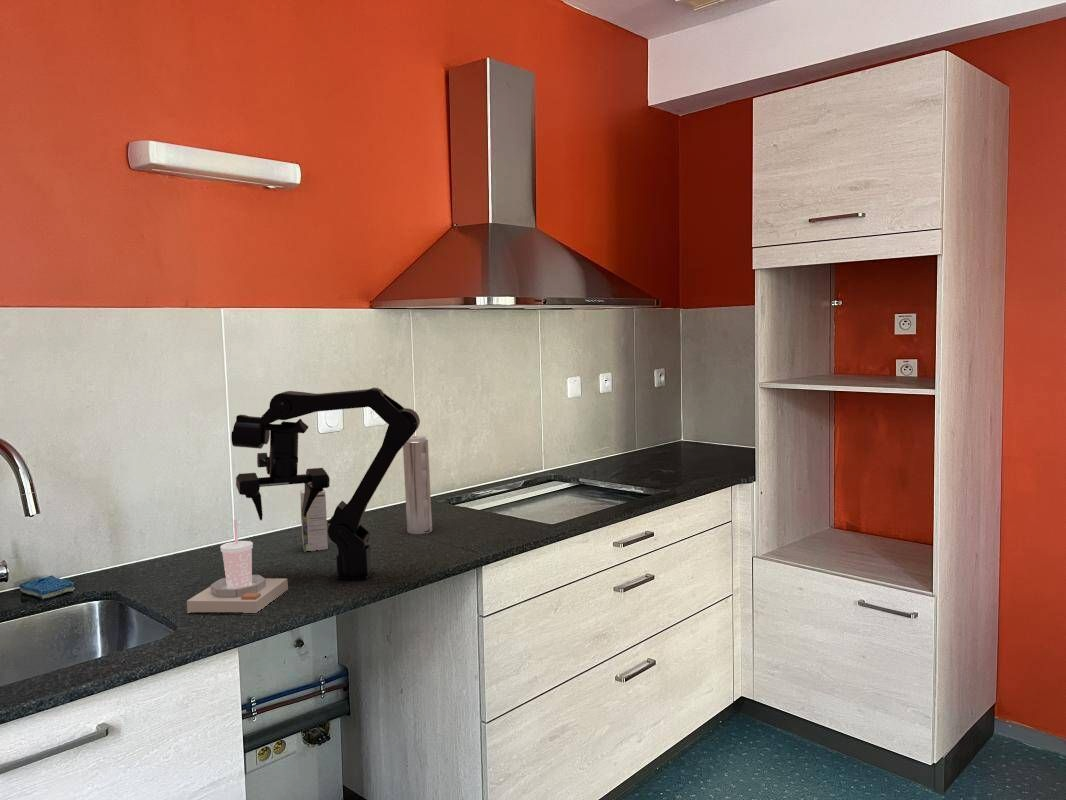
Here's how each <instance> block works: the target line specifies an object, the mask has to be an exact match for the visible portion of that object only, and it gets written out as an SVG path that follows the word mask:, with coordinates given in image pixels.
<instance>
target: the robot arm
mask: <svg viewBox="0 0 1066 800" xmlns="http://www.w3.org/2000/svg"><path fill="white" fill-rule="evenodd" d="M268 407H269V408H268V409H267V410H266V411H265V413H263V414H262V415H261V416H250V415H247V414H238V415H236V417H235V418H236V419H235V420H236V421H234V424H233V429H232V431H231V446H233V447H236V448H246V449H247V448H249V449H259V450H260V449H263V447H264V445H268V443H269V456H268V453H267V452H260V453H259V452H258V453H256V464H257V467H258V468H266V474H267V475H269V476H266V477H258V475H257V473H256V472H249V473H248V472H246V473H238V474H237V476H236V477H235V485H236V489H237V491H238V494H239V495H242V496H245V498H246V499H251V501H252V503H253V504H254V507H255V510H256V512H257V516H258V519H259V521H263V516H264V515H263V504H262V494H261V493H260V488H263V487H264V488H265V487H274V486H275V487H276V486H286V485H287V486H288V485H298V484H299V485H300V484H301V485H302V484H304V489H305V493H304V501H303V516H306V514H307V512H308V510H309V508H310V506H311V504H312V502H313V500H314V499H315V497H316V496H317V494H318V493H319V492H322V491H323V489H328V488H330V484H331V483H330V479H331V478H330V475H329V474H328V472H326V470H325V468H323V467H316V468H315V467H314V468H306V471H305V474H303V473H302V474H298V466H299V465H298V463H299V457H298V454H299V434H304V433H306V432H307V430H308V429H309V425H307V424H306V423H305V422H304V421H303V420H302V419H301V418H299V417H302V416H305V415H309V414H313V413H316V412H317V413H318V412H328V411H338V410H349V409H361V408H370V409H371V410H373V412H375V413H376V414H377V415H378V416H379V417H380V419H381V420H383V421H384V422H385V423H386V424H388V426H387V429H386V431H385V435H384V437H383V441H382V443H381V444H382V445H381V446H380V448H379V450H378V452H377V454H376V455H375V457H374V458H373V460H372V461H371V464H370V465H369V467H368V469H367V471H366V472H365V473H364V476H363V477H362V479H361V480H360V483H359V484H358V486H357V488H356V490H355V491H354V493H353V495H352V497H351V498H350V500H349V501H348V502H345V501H344V500H341V501H340V502H339V503H338V505H337V506H336V507H335V510H334V512H333V515H332V516H331V517H330V518H329V519H328V520H327V524H329V525H328V526H327V536H328V538H329V539H330V541H331V542H333V543H334V544H335V545H336V547H337V549H338V550H337V551H338V552H337V555H336V558H335V559H336V574H337V576H336V580H367V579H368V578H369V577H370V576H371V575H372V574H373V573H374V572H375V568H373V566H372V549H371V545H370V544H367V543H368V542H369V540H370V537H371V532H370V531H369V530H367V529H366V528H365V527H364V526H363V525H362V521H363V519H364V516H365V514H366V510H367V507H368V505H369V503H370V501H371V499H372V498H373V496H374V494H375V492H376V491H377V489H378V488H379V485H380V484H381V482H382V480H383V478H384V477H385V475H386V473H387V472H388V470H389V468H390V466H391V464H392V463H393V461H394V460H395V458H396V456H397V454H398V453H399V451H400V450H401V449H403V446H404V444H405V443H406V442H407V441H408V440H409V439H410V437H411V436H414V434H415V433H416V431H417V430H418V428H419V426H420V423H421V419H420V417H419V414H418V413H417V412H416V410H414V409H411V408H409V407H408V408H406V407H404V406H403V405H402V404H400V403H398V402H397V401H396V400H395V399H393V398H392V397H390V396H389V395H387V394H386V393H385V392H384V391H383V390H382V389H381V388H378V387H372V388H368V389H367V388H366V389H355V390H346V391H334V392H325V393H323V392H321V393H313V392H306V391H297V390H296V391H294V390H287V391H283V392H279V393H277V394H275V395H273V397H272V398H271V399H270V401H269V405H268ZM295 418H299V419H298V420H297V421H296V422H295V421H294V422H293V421H289V420H290V419H291V420H292V419H295ZM277 421H281V423H275V422H277Z"/></svg>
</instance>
